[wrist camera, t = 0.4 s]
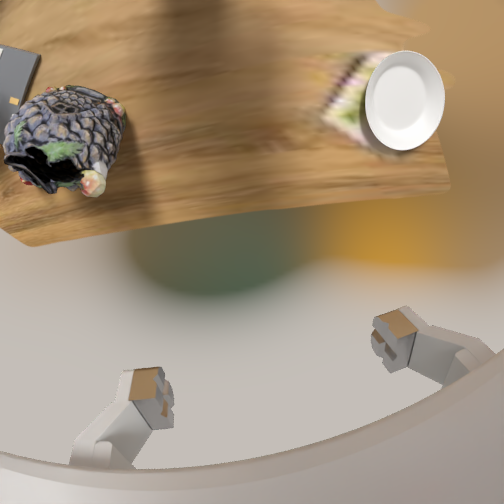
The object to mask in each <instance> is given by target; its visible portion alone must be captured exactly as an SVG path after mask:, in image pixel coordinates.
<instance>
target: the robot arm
mask: <svg viewBox="0 0 504 504" xmlns="http://www.w3.org/2000/svg"><path fill="white" fill-rule="evenodd" d="M373 327H374V328H375V330H374V331H373V333H372V334H371V343H372V348H373V350H374V352H375V353H376V355H377V356H379V357H382V358H383V362H382V363H383V364H384V366H385V367H386V368H387V370H388V371H389V372H390V373H393V372H395V371H398V370H400V369H403V368H405V367H408V368H410V369H412V370H414V371H416V372H418V373H420V374H422V375H424V376H426V377H428V378H430V379H432V380H434V381H436V382H439V383H440V384H442V385H443V386H442V389H441V390H439V391H437V392H436V393H434V394H432V395H430V396H429V397H427V398H424V399H423V400H421V401H419V402H417V403H415V404H413V405H411V406H409V407H406V408H404V409H402V410H400V411H398V412H396V413H394V414H391V415H389V416H387V417H385V418H382V419H380V420H378V421H375V422H373V423H370V424H368V425H366V426H363V427H360V428H358V429H355V430H352V431H349V432H347V433H344V434H341V435H338V436H335V437H332V438H330V439H326V440H323V441H320V442H316V443H313V444H310V445H306V446H303V447H300V448H295V449H291V450H288V451H284V452H279V453H275V454H271V455H266V456H261V457H256V458H251V459H246V460H240V461H235V462H228V463H221V464H214V465H205V466H197V467H184V468H170V469H136V468H135V467H134V466H133V465H132V462H133V460H134V459H135V457H136V456H137V454H138V453H139V451H140V450H141V448H142V447H143V445H144V444H145V442H146V441H147V439H148V438H149V436H150V434H151V433H152V430H159V429H168V428H173V427H174V426H173V425H174V424H173V423H174V414H173V412H172V410H171V408H172V407H173V405H174V396H173V391H172V388H171V385H170V383H169V382H168V381H167V380H165V373H164V371H163V369H162V367H152V368H142V369H134V370H124V371H123V372H122V373H121V377H120V381H119V386H118V390H117V395H116V399H115V402H111V403H110V404H109V405H108V406H107V407H106V408H105V409H104V410H103V411H102V412H101V413H100V414H99V415H98V416H97V417H96V418H95V419H94V420H93V421H92V422H91V424H89V426H88V427H87V428H86V429H85V430H84V431H83V432H82V433H81V434H80V435H79V436H78V437H77V438H76V439H75V441H74V445H73V450H72V454H71V458H70V462H69V465H66V464H59V463H51V462H46V461H41V460H35V459H31V458H26V457H21V456H17V455H13V454H10V453H6V452H1V451H0V504H504V349H503V350H501V351H500V352H499V353H497V354H495V353H494V352H493V351H492V350H491V349H490V348H489V347H488V346H487V345H485V344H484V343H483V342H482V341H481V340H480V339H479V338H475V337H472V336H468V335H465V334H461V333H458V332H454V331H451V330H447V329H443V328H440V327H436V326H433V325H432V326H429V325H428V324H427V323H426V322H425V321H424V320H422V319H421V318H420V317H419V316H418V315H417V314H416V313H415V312H414V311H413V310H412V309H411V308H410V307H408V306H404V307H401V308H398V309H396V310H393V311H390V312H388V313H385V314H382V315H379V316H376V317H374V319H373Z"/></svg>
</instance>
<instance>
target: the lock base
mask: <svg viewBox="0 0 504 504" xmlns="http://www.w3.org/2000/svg"><path fill="white" fill-rule="evenodd" d="M40 56H41V55H39V54H36V53H32V52H29V51H25V50H21V49H17V48H13V47H9V46H5V45H1V44H0V144H2V145H3V143H4V141H5V138H6V137H5V134H4V129H5V127H6V125H7V124H8V122H9V121H10V119H11V116H12V114H15V113H17V112H18V111H19V109H20V107H21V106H22V105H23V103H24V100H25V96H26V93H27V90H28V87H29V84H30V82H31V79H32V76H33V73H34V71H35V68H36V66H37V63H38V61H39V58H40Z"/></svg>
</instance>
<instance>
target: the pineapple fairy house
mask: <svg viewBox="0 0 504 504" xmlns="http://www.w3.org/2000/svg"><path fill="white" fill-rule="evenodd" d="M125 128H126V114H125V108H124V107H123V106H122V105H121V104H120V103H119V102H118V101H117V100H116V99H114V98H110V97H107V96H105V95H103V94H101V93H99V92H97V91H95V90H92V89H89V88H85V87H81V86H71V85H67V86H62V87H60V88H56V87H48V88H47V89H46V92H44V93H42V94H41V95H37V96H35V97H34V98H33V99H32V100H29V101H26V102H25V104H24V105H22V106H21V107H20V109H19V111H18V112H17V113H15V114H12V116H11V119H10V121H9V122H8V124H7V125H6V127H5V129H4V134H5V137H6V138H5V141H4V143H3V148H4V152H5V154H6V155H5V156H4V163H5V164H7V165H9V166H8V167H9V169H10V170H11V171H13V172H15V171H19V176H20V177H21V178H22V179H23V180H24V181H30V182H31V183H32V184H33V185H35V186H37V187H40V188H41V187H42V188H43V189H44V190H45V191H46V192H47V193H48V194H53V193H56V192H57V188H58V187H66V188H68V189H69V190H71V191H75V190H76V189H77V188H78V187H79V188H84V190H82V193H83V194H84V195H86V196H87V197H98V196H99V195H101V194H102V193H103V192H104V191H105V187H106V178H107V172H108V170H109V169H110V168H111V165H112V164H113V163H115V161H116V158H117V153H118V151H119V150H120V142H121V140H122V138H123V132H124V130H125ZM80 190H81V189H80Z"/></svg>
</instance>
